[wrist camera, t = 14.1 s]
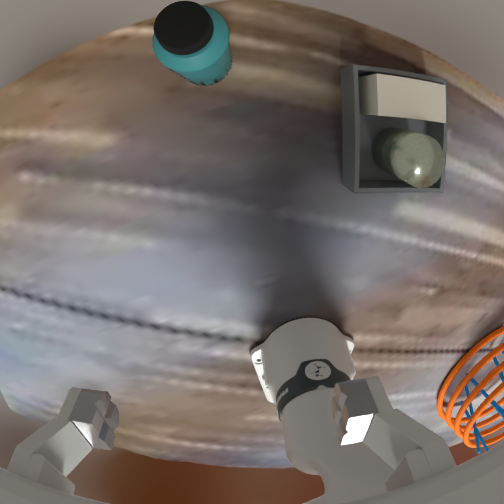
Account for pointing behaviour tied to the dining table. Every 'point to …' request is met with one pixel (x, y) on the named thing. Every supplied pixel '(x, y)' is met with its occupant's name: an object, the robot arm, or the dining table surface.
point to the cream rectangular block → (402, 98)
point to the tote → (368, 126)
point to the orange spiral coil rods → (480, 411)
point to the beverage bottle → (193, 42)
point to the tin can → (409, 156)
